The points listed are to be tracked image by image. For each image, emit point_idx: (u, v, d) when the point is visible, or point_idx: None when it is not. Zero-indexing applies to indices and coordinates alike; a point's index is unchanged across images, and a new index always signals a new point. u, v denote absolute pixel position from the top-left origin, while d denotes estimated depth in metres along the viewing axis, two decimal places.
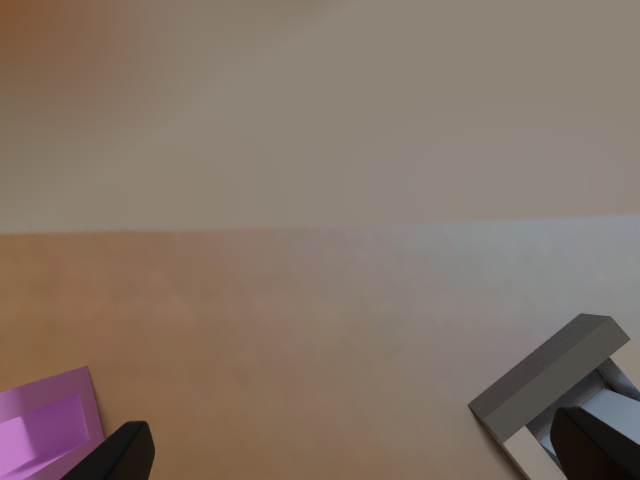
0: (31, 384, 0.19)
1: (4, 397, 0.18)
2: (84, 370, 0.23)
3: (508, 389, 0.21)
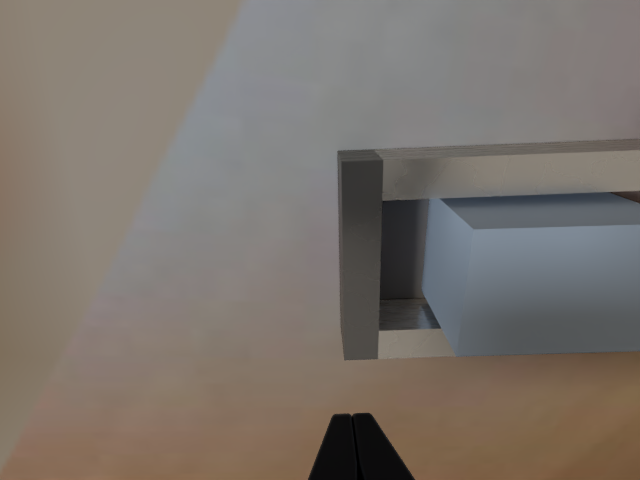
0: None
1: None
2: None
3: (342, 308, 0.17)
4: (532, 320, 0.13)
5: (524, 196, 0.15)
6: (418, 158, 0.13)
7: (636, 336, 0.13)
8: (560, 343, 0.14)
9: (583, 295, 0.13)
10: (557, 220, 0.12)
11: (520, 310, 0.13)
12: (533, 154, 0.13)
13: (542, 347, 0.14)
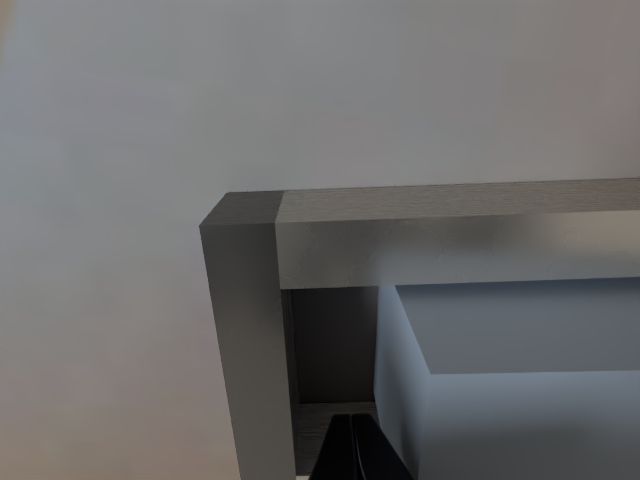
0: None
1: None
2: None
3: None
4: None
5: None
6: (337, 220, 0.07)
7: None
8: None
9: None
10: (594, 345, 0.07)
11: None
12: (544, 213, 0.07)
13: None
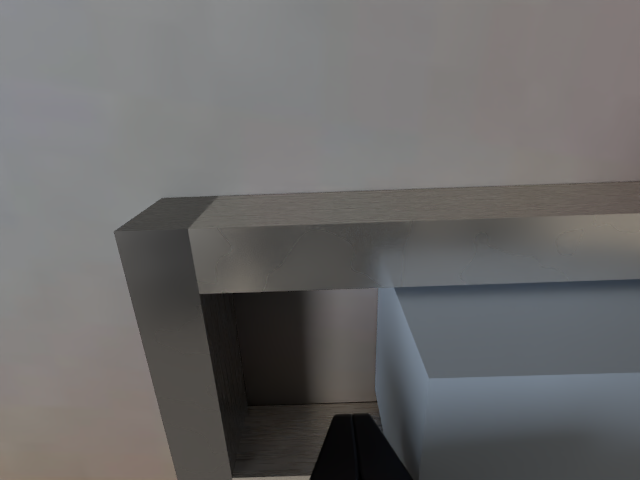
0: None
1: None
2: None
3: None
4: None
5: None
6: (249, 226, 0.08)
7: None
8: None
9: None
10: (596, 347, 0.06)
11: None
12: (453, 219, 0.08)
13: None
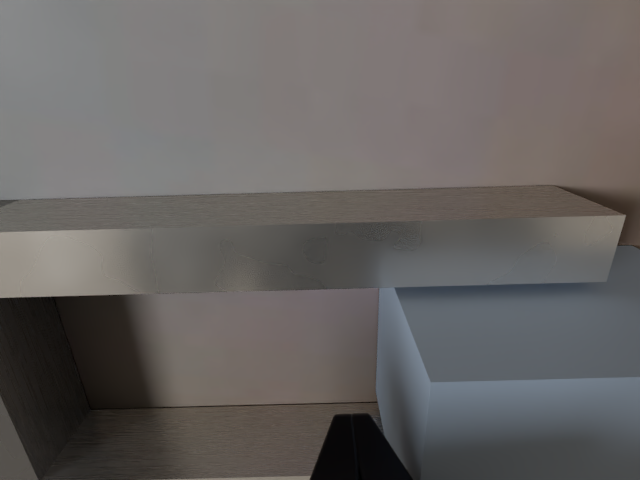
0: None
1: None
2: None
3: None
4: None
5: None
6: None
7: None
8: None
9: None
10: (598, 351, 0.06)
11: None
12: (194, 227, 0.08)
13: None
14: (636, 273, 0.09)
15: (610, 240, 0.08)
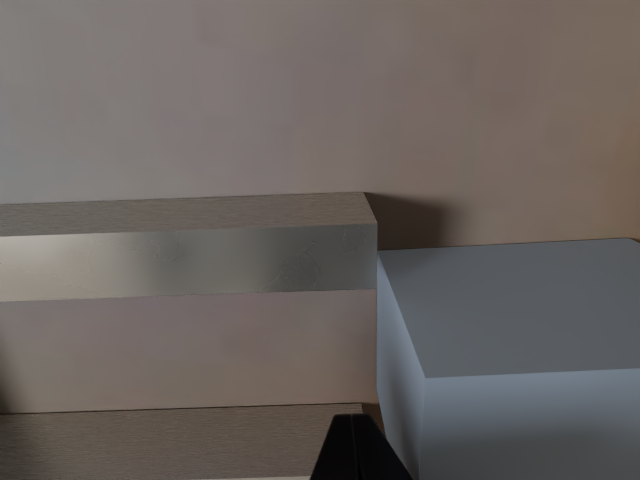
0: None
1: None
2: None
3: None
4: None
5: (528, 268, 0.09)
6: None
7: None
8: None
9: None
10: (593, 344, 0.06)
11: None
12: None
13: None
14: (633, 265, 0.09)
15: (368, 248, 0.08)
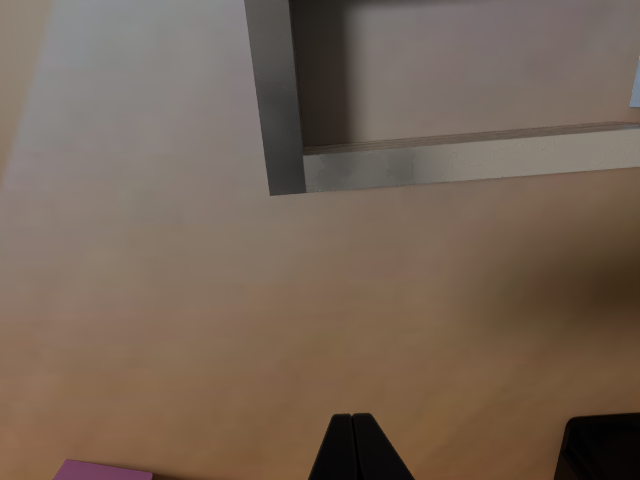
0: None
1: None
2: (66, 465, 0.24)
3: None
4: None
5: None
6: None
7: None
8: None
9: None
10: None
11: None
12: None
13: None
14: None
15: None
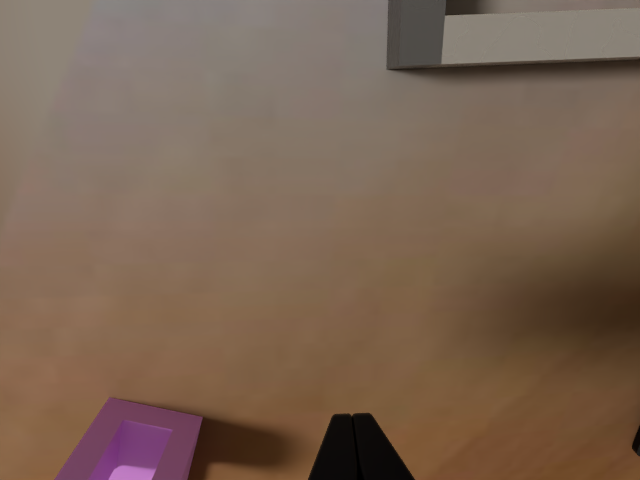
0: (64, 467, 0.18)
1: None
2: (109, 403, 0.22)
3: None
4: None
5: None
6: None
7: None
8: None
9: None
10: None
11: None
12: None
13: None
14: None
15: None
